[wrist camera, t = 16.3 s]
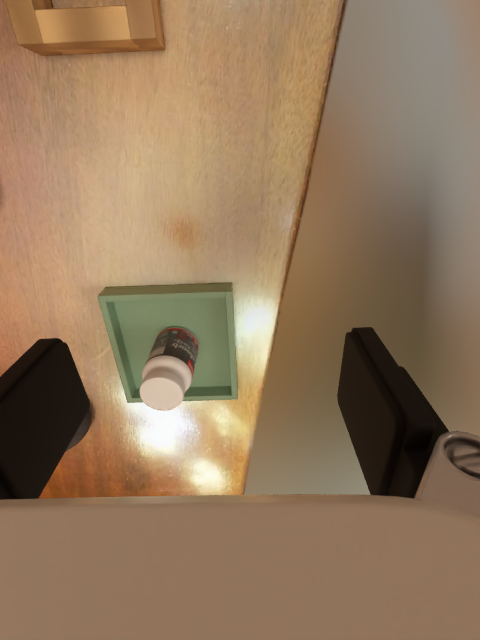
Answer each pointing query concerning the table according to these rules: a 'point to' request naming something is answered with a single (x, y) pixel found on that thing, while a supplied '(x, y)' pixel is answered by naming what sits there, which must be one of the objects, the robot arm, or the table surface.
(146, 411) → the table surface
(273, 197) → the table surface
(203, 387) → the tray
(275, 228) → the table surface
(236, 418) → the table surface
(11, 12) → the holder
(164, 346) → the pill bottle
